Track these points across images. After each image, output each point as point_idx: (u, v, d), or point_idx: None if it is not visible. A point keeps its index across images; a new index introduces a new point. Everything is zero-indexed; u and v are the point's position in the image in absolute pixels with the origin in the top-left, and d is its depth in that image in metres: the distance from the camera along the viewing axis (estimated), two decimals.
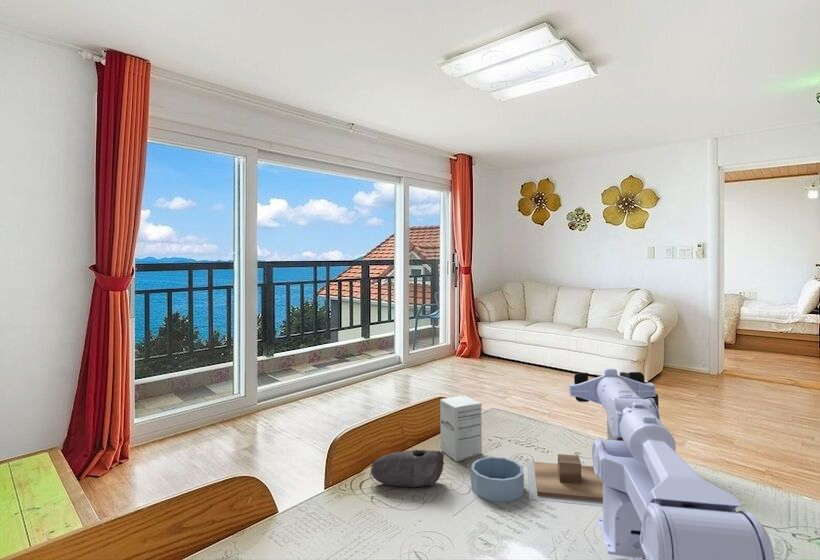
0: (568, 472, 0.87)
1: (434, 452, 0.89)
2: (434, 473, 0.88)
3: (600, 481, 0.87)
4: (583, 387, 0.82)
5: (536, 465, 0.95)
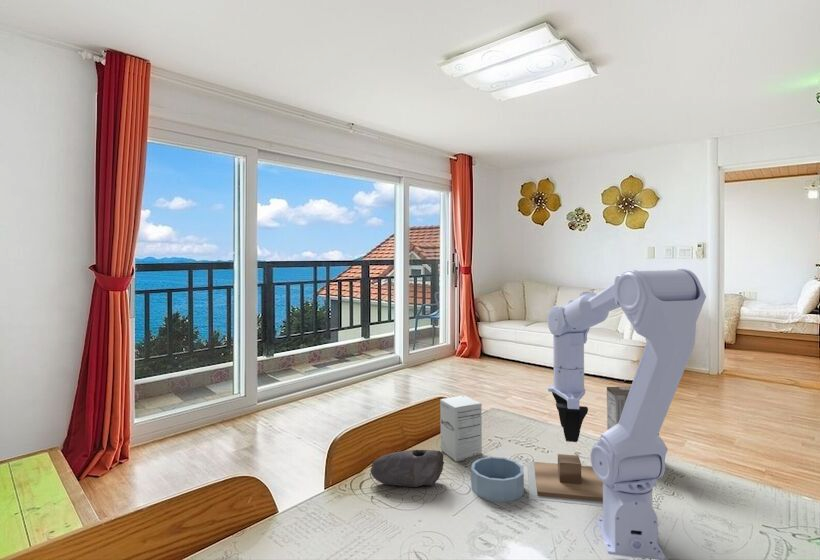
0: (568, 472, 0.87)
1: (434, 452, 0.89)
2: (434, 473, 0.88)
3: (600, 481, 0.87)
4: (568, 396, 0.84)
5: (536, 465, 0.95)
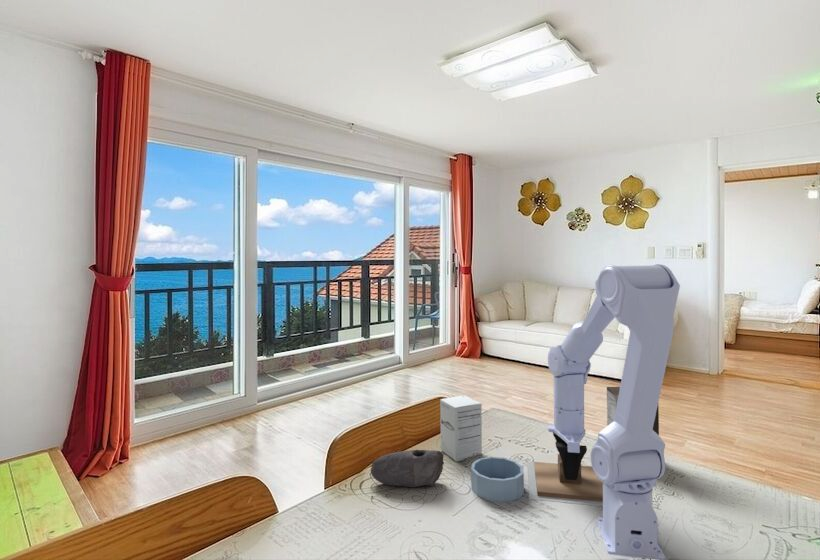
0: None
1: (434, 452, 0.89)
2: (434, 473, 0.88)
3: (600, 481, 0.87)
4: (568, 439, 0.84)
5: (536, 465, 0.95)
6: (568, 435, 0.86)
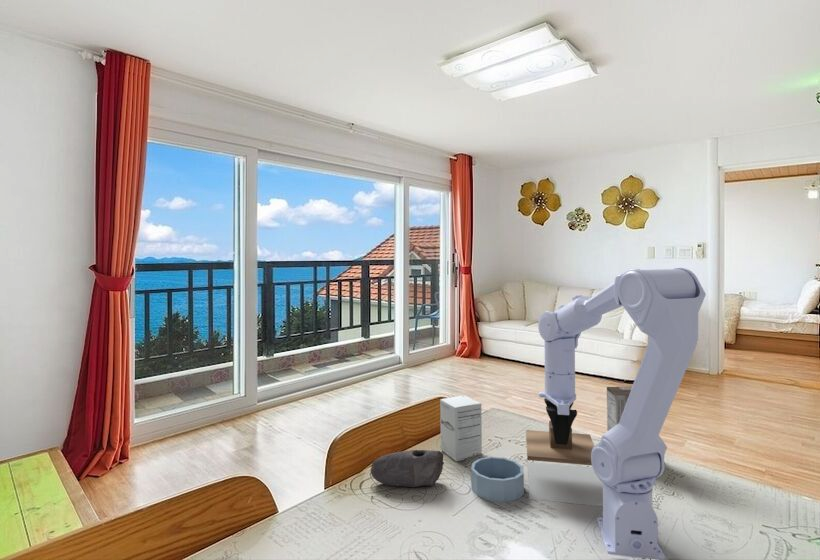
0: None
1: (434, 452, 0.89)
2: (434, 473, 0.88)
3: (591, 447, 0.87)
4: (558, 402, 0.84)
5: (528, 433, 0.95)
6: (558, 399, 0.85)
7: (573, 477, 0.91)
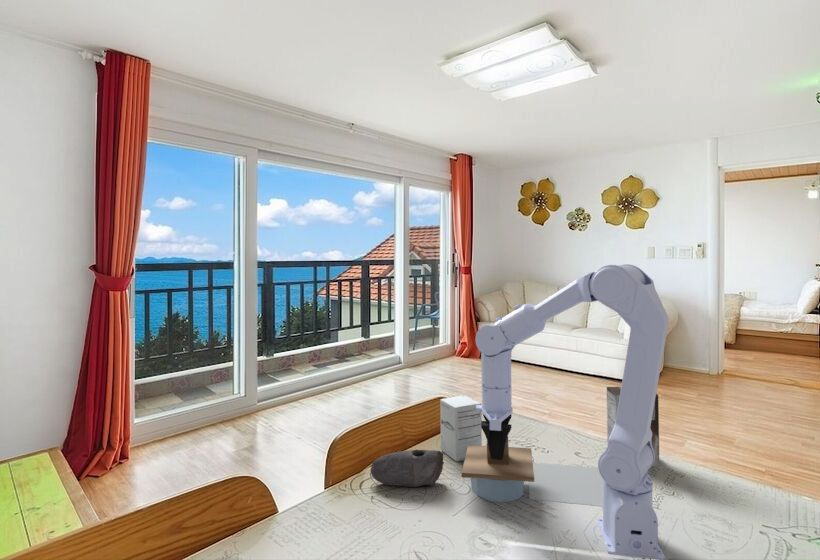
0: None
1: (434, 452, 0.89)
2: (434, 473, 0.88)
3: (529, 461, 0.86)
4: (492, 417, 0.82)
5: (469, 448, 0.93)
6: (493, 414, 0.84)
7: (573, 477, 0.91)
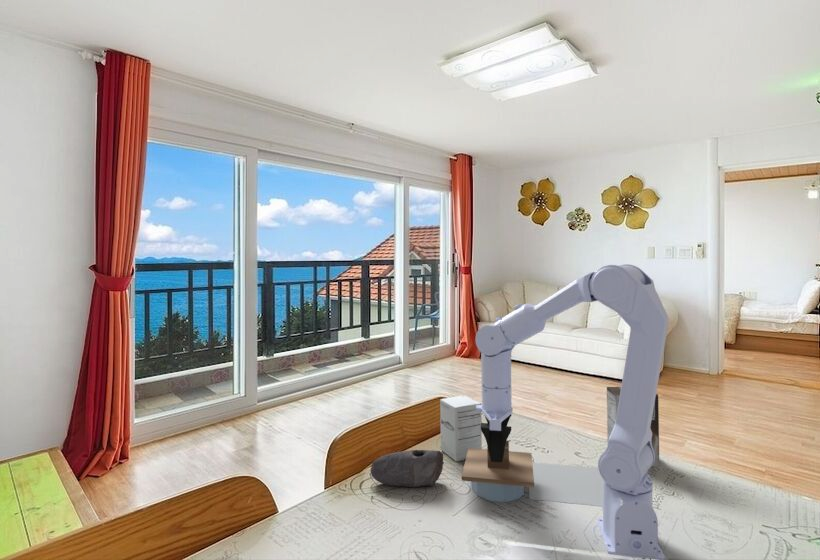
0: None
1: (434, 452, 0.89)
2: (434, 473, 0.88)
3: (529, 466, 0.86)
4: (492, 417, 0.82)
5: (469, 451, 0.93)
6: (493, 414, 0.84)
7: (573, 477, 0.91)
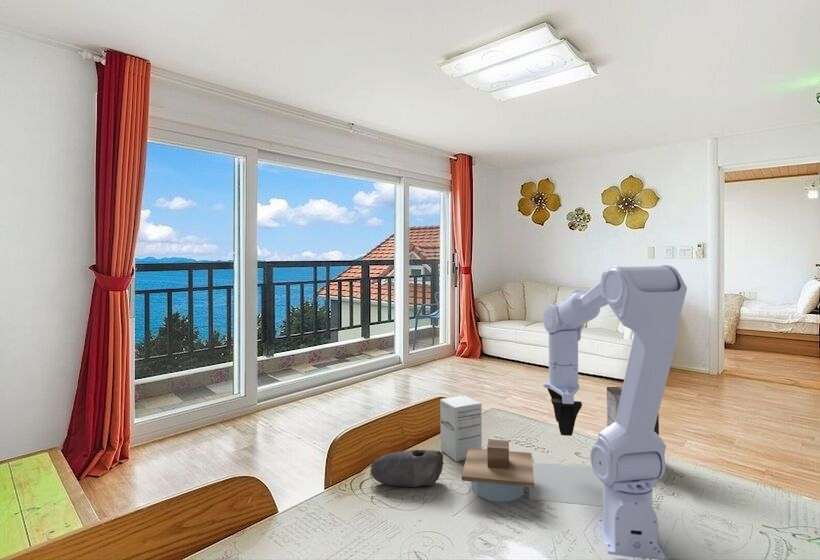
0: (495, 457, 0.85)
1: (434, 452, 0.89)
2: (434, 473, 0.88)
3: (529, 466, 0.86)
4: (563, 392, 0.87)
5: (469, 451, 0.93)
6: (563, 389, 0.88)
7: (573, 477, 0.91)
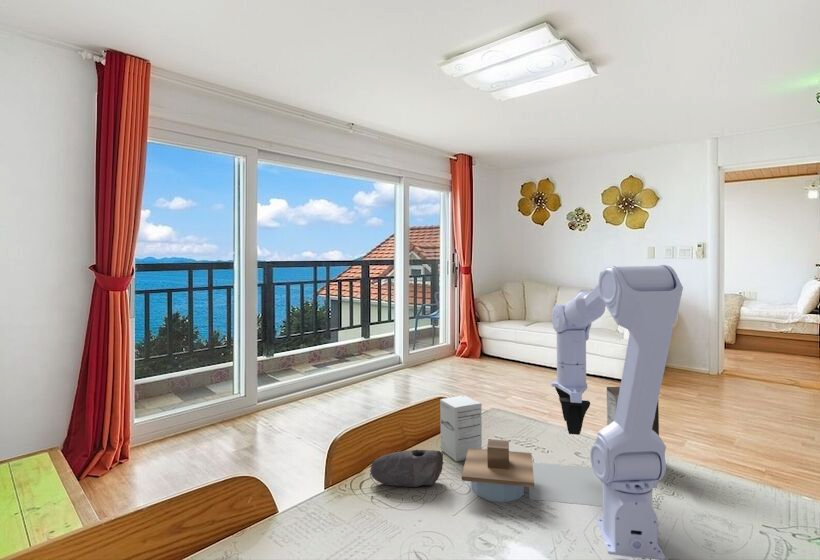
0: (495, 457, 0.85)
1: (433, 452, 0.89)
2: (433, 473, 0.88)
3: (529, 466, 0.86)
4: (571, 391, 0.87)
5: (469, 451, 0.93)
6: (571, 388, 0.89)
7: (573, 477, 0.91)
